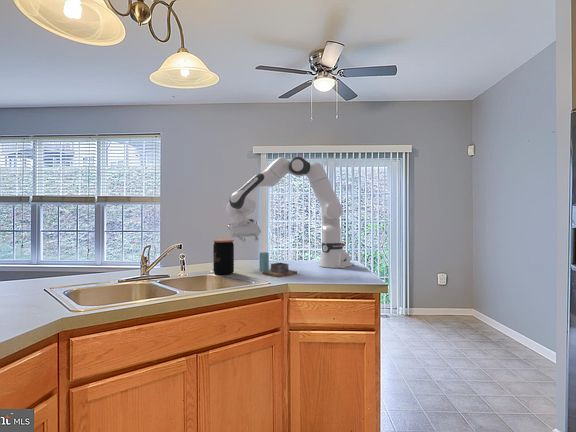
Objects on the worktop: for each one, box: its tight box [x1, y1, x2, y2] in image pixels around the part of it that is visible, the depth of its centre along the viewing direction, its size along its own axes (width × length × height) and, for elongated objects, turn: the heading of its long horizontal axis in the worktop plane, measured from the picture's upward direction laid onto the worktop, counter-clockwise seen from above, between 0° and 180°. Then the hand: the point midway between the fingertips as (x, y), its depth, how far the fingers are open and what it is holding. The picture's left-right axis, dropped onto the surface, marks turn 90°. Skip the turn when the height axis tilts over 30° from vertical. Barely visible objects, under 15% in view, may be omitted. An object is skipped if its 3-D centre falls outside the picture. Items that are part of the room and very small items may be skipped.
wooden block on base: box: [261, 262, 298, 278], centre depth 176 cm, size 14×12×5 cm
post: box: [259, 251, 270, 272], centre depth 185 cm, size 4×4×10 cm
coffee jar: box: [212, 238, 235, 276], centre depth 177 cm, size 11×11×18 cm
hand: (250, 240), depth 194 cm, fingers open, 8 cm apart
